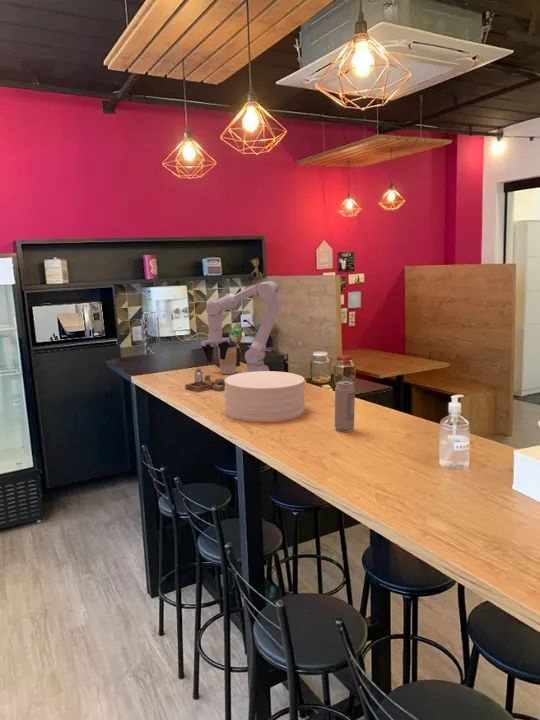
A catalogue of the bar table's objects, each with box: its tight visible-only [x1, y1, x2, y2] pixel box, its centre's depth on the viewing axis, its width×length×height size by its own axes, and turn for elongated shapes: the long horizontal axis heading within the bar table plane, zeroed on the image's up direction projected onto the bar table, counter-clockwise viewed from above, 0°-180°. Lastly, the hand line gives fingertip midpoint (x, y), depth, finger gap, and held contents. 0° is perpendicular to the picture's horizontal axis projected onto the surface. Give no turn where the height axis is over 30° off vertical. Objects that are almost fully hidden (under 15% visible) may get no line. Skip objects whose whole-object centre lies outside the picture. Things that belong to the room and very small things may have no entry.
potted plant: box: [213, 331, 241, 368], centre depth 277 cm, size 16×11×18 cm
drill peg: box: [194, 367, 204, 386], centre depth 229 cm, size 3×3×8 cm
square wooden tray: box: [184, 381, 213, 393], centre depth 229 cm, size 8×8×2 cm
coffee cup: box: [217, 340, 238, 375], centre depth 260 cm, size 9×9×15 cm
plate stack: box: [224, 370, 305, 423], centre depth 196 cm, size 28×28×12 cm
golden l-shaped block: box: [203, 374, 219, 386], centre depth 237 cm, size 6×2×4 cm, turn 47°
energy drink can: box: [334, 380, 356, 432], centre depth 173 cm, size 6×6×15 cm
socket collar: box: [210, 380, 226, 392], centre depth 234 cm, size 12×12×1 cm
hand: (216, 360), depth 241 cm, fingers open, 7 cm apart
